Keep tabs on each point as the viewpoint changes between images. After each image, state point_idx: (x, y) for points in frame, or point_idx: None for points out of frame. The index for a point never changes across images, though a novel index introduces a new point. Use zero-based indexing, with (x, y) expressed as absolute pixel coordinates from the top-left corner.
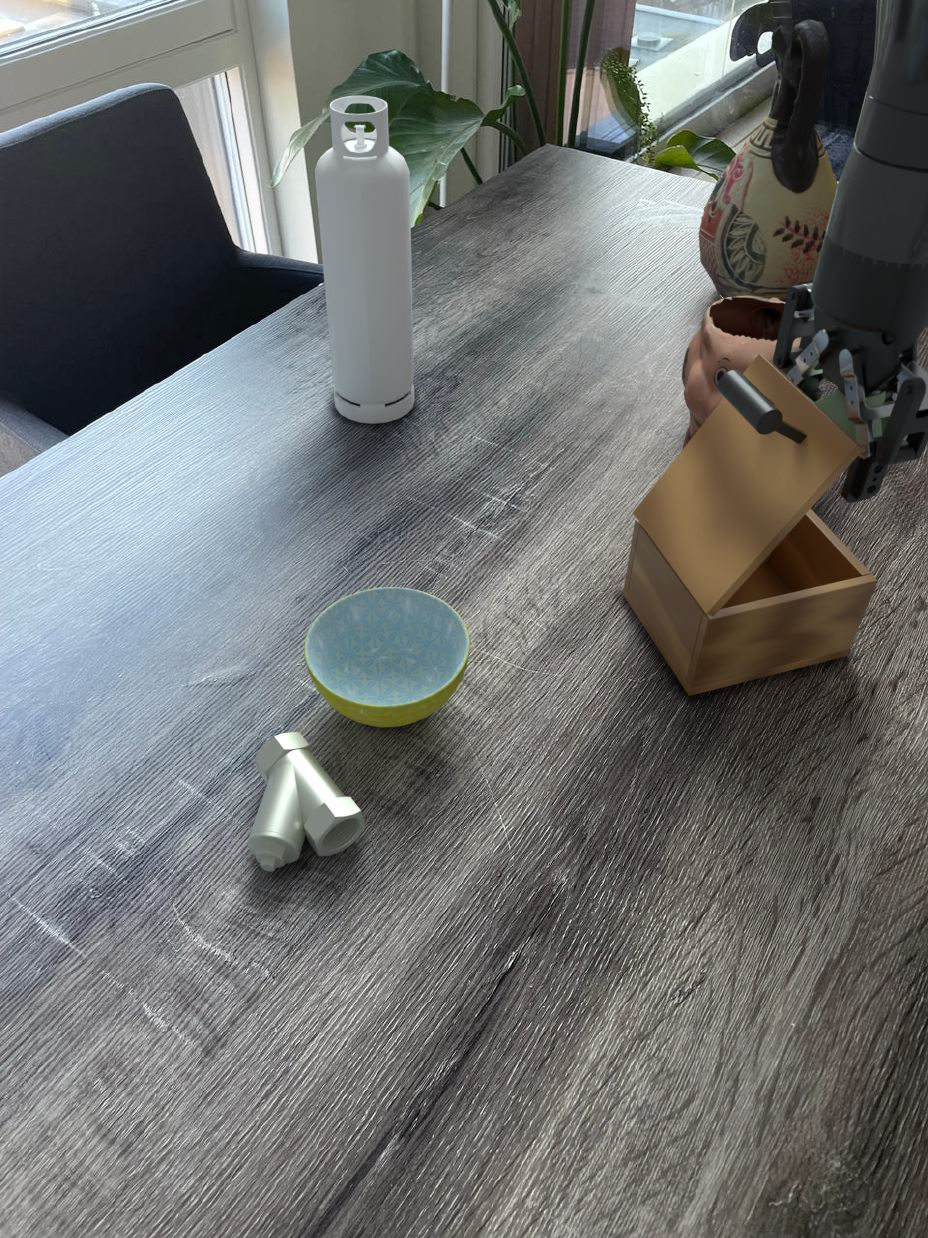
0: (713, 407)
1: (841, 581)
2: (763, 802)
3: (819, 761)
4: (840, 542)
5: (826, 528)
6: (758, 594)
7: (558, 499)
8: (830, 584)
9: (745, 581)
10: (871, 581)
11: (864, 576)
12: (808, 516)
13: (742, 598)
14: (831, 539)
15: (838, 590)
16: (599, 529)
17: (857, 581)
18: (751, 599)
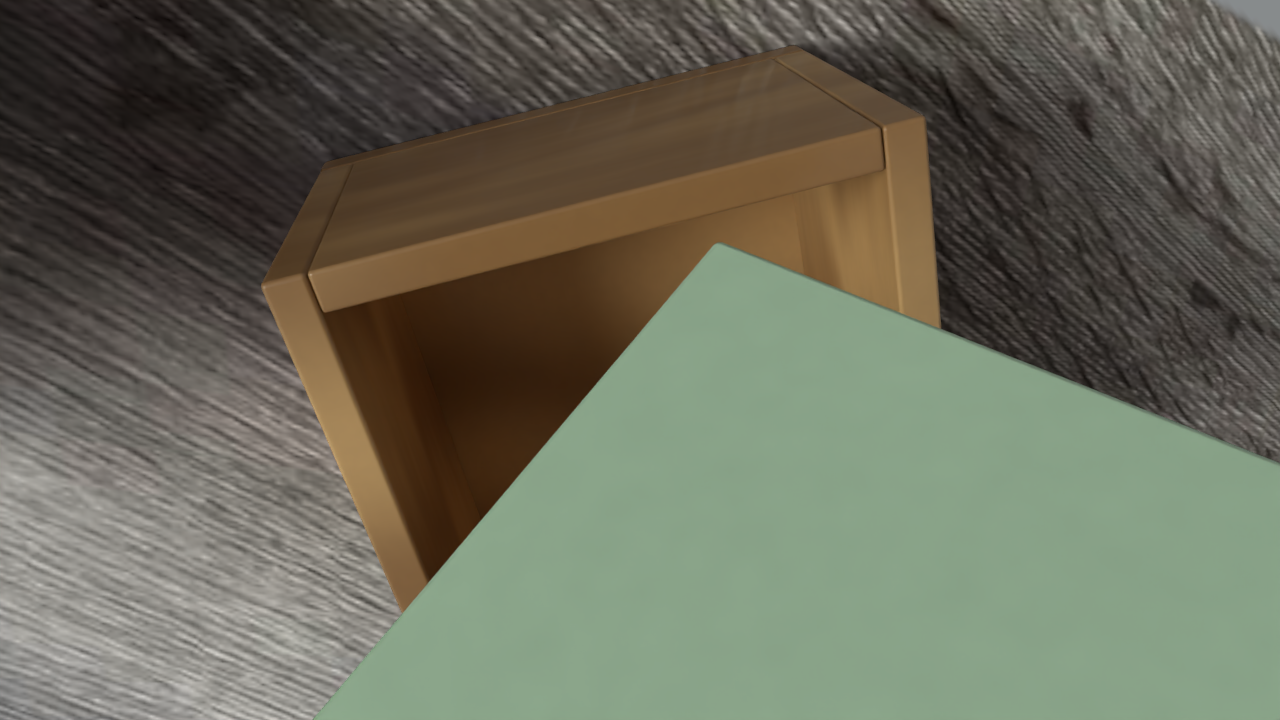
0: None
1: (899, 263)
2: (1163, 400)
3: (1109, 251)
4: (674, 190)
5: (574, 218)
6: (533, 268)
7: (50, 712)
8: (907, 310)
9: (468, 293)
10: (927, 147)
11: (892, 164)
12: (486, 270)
13: (547, 319)
14: (652, 223)
15: (937, 286)
16: (192, 623)
17: (913, 203)
18: (554, 294)
